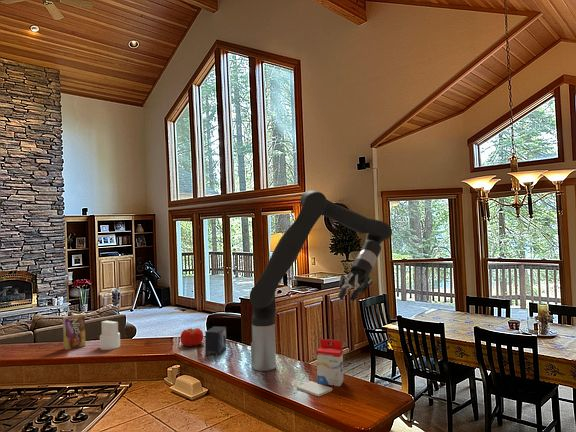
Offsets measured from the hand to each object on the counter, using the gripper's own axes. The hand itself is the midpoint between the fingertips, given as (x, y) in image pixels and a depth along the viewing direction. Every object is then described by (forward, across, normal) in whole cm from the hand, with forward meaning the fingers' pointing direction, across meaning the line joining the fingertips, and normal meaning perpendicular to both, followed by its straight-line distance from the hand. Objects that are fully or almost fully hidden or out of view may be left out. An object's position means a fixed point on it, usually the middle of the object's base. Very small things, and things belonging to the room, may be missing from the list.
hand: (345, 298), depth 158 cm
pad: (+33, 0, +7) cm, 34 cm away
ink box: (+27, 0, +13) cm, 30 cm away
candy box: (+60, -122, -20) cm, 138 cm away
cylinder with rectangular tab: (+52, -109, -12) cm, 121 cm away
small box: (+32, -62, +9) cm, 70 cm away
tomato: (+32, -81, +8) cm, 88 cm away
